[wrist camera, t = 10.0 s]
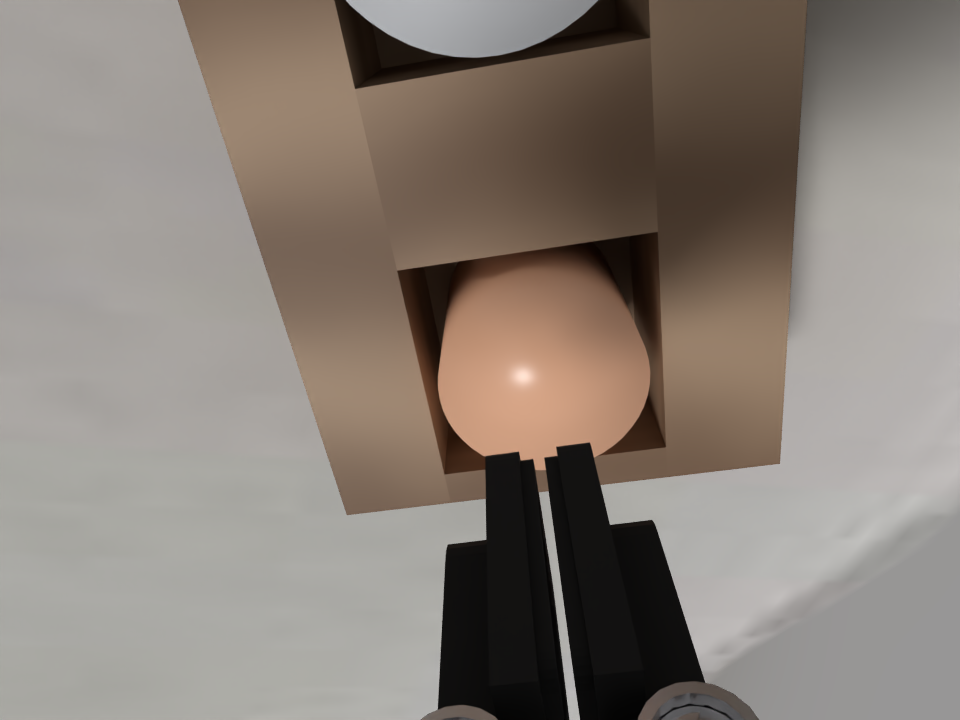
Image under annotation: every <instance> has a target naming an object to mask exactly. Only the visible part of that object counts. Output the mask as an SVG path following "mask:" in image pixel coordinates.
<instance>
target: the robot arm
mask: <svg viewBox="0 0 960 720" xmlns="http://www.w3.org/2000/svg"><path fill="white" fill-rule="evenodd" d="M556 450H557V456H552V457H544V460H545V467H546V475H547V482H548V489H549V497H550V504H551V511H552V519H553V526H554V533H555V541H556V548H557V556H558V563H559V570H560V578H561V585H562V592H563V600H564V607H565V614H566V622H567V629H568V636H569V644H570V651H571V658H572V666H573V673H574V680H575V687H576V694H577V701H578V708H579V715H580V720H759V719H758V718H757V716H756V715H755V713H754V712H753V711H752V709H751V708H750V707H749V706H748V705H747V704H746V703H744V702H743V701H742V700H741V699H739V698H738V697H737V696H736V695H734V694H733V693H731V692H729V691H727V690H724V689H722V688H720V687H718V686H716V685H713V684H707V683H705V681H704V678H703V674H702V671H701V668H700V665H699V662H698V659H697V655H696V652H695V649H694V646H693V643H692V640H691V636H690V633H689V630H688V627H687V624H686V621H685V617H684V614H683V611H682V608H681V605H680V602H679V598H678V595H677V592H676V589H675V586H674V583H673V579H672V576H671V573H670V570H669V567H668V564H667V560H666V557H665V554H664V551H663V548H662V545H661V541H660V538H659V535H658V532H657V529H656V526H655V524H654V522H653V521H652V520H648V521H640V522H632V523H623V524H615V525H610V524H609V520H608V515H607V511H606V507H605V503H604V498H603V494H602V490H601V486H600V481H599V477H598V473H597V469H596V464H595V460H594V456H593V452H592V447H591V444H590V442H589V443H581V444H573V445H566V446H558V447H556ZM485 479H486V536H487V540H482V541H474V542H466V543H458V544H449V545H448V546H447V550H446V561H445V581H444V601H443V620H442V640H441V659H440V679H439V698H438V710H436V711H434V712H432V713H429V714H427V715H426V716H425V717H424V718H422V719H421V720H569V713H568V705H567V697H566V688H565V680H564V672H563V664H562V656H561V647H560V639H559V631H558V623H557V615H556V606H555V598H554V591H553V583H552V576H551V570H550V563H549V557H548V550H547V544H546V537H545V531H544V524H543V518H542V511H541V505H540V498H539V492H538V485H537V478H536V472H535V466H534V460H533V459H529V460H521V459H520V454H519V452H512V453H504V454H496V455H489V456H486V457H485Z"/></svg>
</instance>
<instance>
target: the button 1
mask: <svg viewBox="0 0 960 720" xmlns="http://www.w3.org/2000/svg"><path fill="white" fill-rule="evenodd" d="M649 386H650V366H649V359H648V355H647V352H646V348H645V346H644V343H643V341H642V339H641V337H640V334H639V332H638V330H637V327H636V325H635V323H634V320H633V318H632V316H631V314H630V311H629V309H628V307H627V304H626V302H625V300H624V297H623V295H622V293H621V291H620V288H619V286H618V284H617V281H616V279H615V277H614V274H613V272H612V270H611V268H610V265H609V263H608V261H607V259H606V258H605V256H604V255H603V253H602V251H601V250H600V249H599V248H598V247H597V246H596V244H595V243H594V242H586V243H579V244H573V245H566V246H559V247H553V248H546V249H539V250H532V251H526V252H519V253H512V254H506V255H499V256H492V257H485V258H479V259H472V260H465V261H459V262H458V264H457V266H456V268H455V270H454V272H453V275H452V278H451V282H450V288H449V294H448V302H447V310H446V318H445V325H444V333H443V341H442V349H441V357H440V364H439V372H438V391H439V398H440V402H441V405H442V409H443V412H444V414H445V416H446V418H447V420H448V422H449V423H450V425H451V426H452V428H453V429H454V431H455V432H456V433H457V434H458V436H459V437H460V438H461V439H462V440H463V441H464V442H465V443H466V444H468V445H469V446H470V447H471V448H472V449H474V450H475V451H477V452H478V453H480V454H481V455H483V456H485V457H486V456H489V455H496V454H504V453H512V452H519V454H520V459H521V460H529V459H533V460H534V466H535V470H546V467H545V460H544V457H552V456H557V450H556V447H558V446H566V445H573V444H581V443H589V442H590V444H591V447H592V452H593V456H594V457H596V456H598V455H600V454H602V453H604V452H605V451H607V450H608V449H609V448H611V447H612V446H614V445H615V444H616V443H617V442H618V441H619V440H621V439H622V438H623V437H624V436H625V435H626V433H627V432H628V431H629V430H630V429H631V428H632V426H633V425H634V423H635V422H636V421H637V419H638V418H639V416H640V414H641V412H642V410H643V408H644V405H645V402H646V399H647V396H648V391H649Z"/></svg>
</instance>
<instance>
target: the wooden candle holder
mask: <svg viewBox="0 0 960 720" xmlns="http://www.w3.org/2000/svg"><path fill="white" fill-rule="evenodd" d="M178 2H179V5H180V8H181V11H182V14H183V17H184V20H185V23H186V27H187V30H188V33H189V36H190V39H191V42H192V45H193V48H194V51H195V54H196V57H197V60H198V63H199V66H200V69H201V72H202V75H203V78H204V81H205V84H206V87H207V90H208V93H209V97H210V100H211V103H212V106H213V109H214V112H215V115H216V118H217V121H218V124H219V127H220V130H221V133H222V136H223V139H224V142H225V145H226V148H227V151H228V154H229V157H230V160H231V163H232V167H233V170H234V173H235V176H236V179H237V182H238V185H239V188H240V191H241V194H242V197H243V200H244V203H245V206H246V209H247V212H248V215H249V218H250V221H251V224H252V227H253V230H254V233H255V237H256V240H257V243H258V246H259V249H260V252H261V255H262V258H263V261H264V264H265V267H266V270H267V273H268V276H269V279H270V282H271V285H272V288H273V291H274V294H275V297H276V300H277V304H278V307H279V310H280V313H281V316H282V319H283V322H284V325H285V328H286V331H287V334H288V337H289V340H290V343H291V346H292V349H293V352H294V355H295V358H296V361H297V364H298V367H299V370H300V374H301V377H302V380H303V383H304V386H305V389H306V392H307V395H308V398H309V401H310V404H311V407H312V410H313V413H314V416H315V419H316V422H317V425H318V428H319V431H320V434H321V437H322V440H323V444H324V447H325V450H326V453H327V456H328V459H329V462H330V465H331V468H332V471H333V474H334V477H335V480H336V483H337V486H338V489H339V492H340V495H341V498H342V501H343V504H344V507H345V510H346V514H347V515H351V514H360V513H368V512H377V511H385V510H394V509H402V508H410V507H419V506H427V505H436V504H444V503H453V502H461V501H469V500H478V499H486V479H485V456H483V455H481V454H480V453H478V452H477V451H475V450H474V449H472V448H471V447H470V446H469V445H468V444H466V443H465V442H464V441H463V440H462V439H461V438H460V437H459V436H458V434H457V433H456V432H455V431H454V429H453V428H452V426H451V425H450V423H449V422H448V420H447V418H446V416H445V414H444V412H443V409H442V405H441V402H440V398H439V391H438V372H439V364H440V357H441V349H442V341H443V333H444V325H445V318H446V310H447V302H448V294H449V288H450V282H451V278H452V275H453V272H454V270H455V268H456V266H457V264H458V262H459V261H465V260H472V259H479V258H485V257H492V256H499V255H506V254H512V253H519V252H526V251H532V250H539V249H546V248H553V247H559V246H566V245H573V244H579V243H586V242H594V243H595V244H596V246H597V247H598V248H599V249H600V250H601V251H602V253H603V255H604V256H605V258H606V259H607V261H608V263H609V265H610V268H611V270H612V272H613V274H614V277H615V279H616V281H617V284H618V286H619V288H620V291H621V293H622V295H623V297H624V300H625V302H626V304H627V307H628V309H629V311H630V314H631V316H632V318H633V320H634V323H635V325H636V327H637V330H638V332H639V334H640V337H641V339H642V341H643V343H644V346H645V348H646V352H647V355H648V359H649V366H650V386H649V391H648V396H647V399H646V402H645V405H644V408H643V410H642V412H641V414H640V416H639V418H638V419H637V421H636V422H635V423H634V425H633V426H632V428H631V429H630V430H629V431H628V432H627V433H626V435H625V436H624V437H623V438H622V439H621V440H619V441H618V442H617V443H616V444H615V445H614V446H612V447H611V448H609V449H608V450H607V451H605V452H604V453H602V454H600V455H598V456H596V457H594V460H595V464H596V469H597V473H598V477H599V481H600V485H604V484H613V483H621V482H629V481H638V480H646V479H655V478H663V477H672V476H680V475H688V474H697V473H705V472H714V471H722V470H730V469H739V468H747V467H756V466H764V465H773V464H780V453H781V437H782V420H783V403H784V386H785V369H786V352H787V336H788V319H789V302H790V285H791V268H792V251H793V235H794V218H795V201H796V184H797V167H798V151H799V134H800V117H801V100H802V83H803V66H804V50H805V33H806V16H807V0H598V1H597V2H596V3H595V4H594V5H593V6H592V7H591V8H590V9H589V10H588V11H587V12H586V13H585V14H584V15H582V16H581V17H580V18H578V19H577V20H576V21H574V22H573V23H572V24H570V25H569V26H568V27H566V28H565V29H564V30H562V31H560V32H558V33H557V34H555V35H553V36H551V37H550V38H548V39H546V40H544V41H542V42H540V43H537V44H535V45H532V46H530V47H527V48H525V49H522V50H519V51H515V52H511V53H507V54H503V55H498V56H488V57H479V58H473V57H453V56H448V55H442V54H437V53H432V52H429V51H426V50H423V49H420V48H417V47H414V46H411V45H409V44H407V43H404V42H402V41H400V40H398V39H396V38H394V37H392V36H390V35H388V34H387V33H385V32H384V31H382V30H381V29H379V28H378V27H377V26H375V25H374V24H372V23H371V22H369V21H368V20H367V19H366V18H364V17H363V16H362V15H361V14H360V13H359V12H357V11H356V10H355V9H354V8H353V7H352V6H351V5H349V3H348V2H347V1H346V0H178ZM535 472H536V478H537V485H538V492H545V491H549V489H548V482H547V475H546V470H535Z"/></svg>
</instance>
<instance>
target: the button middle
mask: <svg viewBox="0 0 960 720" xmlns="http://www.w3.org/2000/svg"><path fill="white" fill-rule="evenodd" d="M346 1H347V2H348V3H349V5H351V6H352V7H353V8H354V9H355V10H356V11H357V12H359V13H360V14H361V15H362V16H363V17H364V18H366V19H367V20H368V21H369V22H371V23H372V24H374V25H375V26H377V27H378V28H379V29H381V30H382V31H384V32H385V33H387V34H388V35H390V36H392V37H394V38H396V39H398V40H400V41H402V42H404V43H407V44H409V45H411V46H414V47H417V48H420V49H423V50H426V51H429V52H432V53H437V54H442V55H448V56H453V57H473V58H479V57H488V56H498V55H503V54H507V53H511V52H515V51H519V50H522V49H525V48H527V47H530V46H532V45H535V44H537V43H540V42H542V41H544V40H546V39H548V38H550V37H551V36H553V35H555V34H557V33H558V32H560V31H562V30H564V29H565V28H566V27H568V26H569V25H570V24H572V23H573V22H574V21H576V20H577V19H578V18H580V17H581V16H582V15H584V14H585V13H586V12H587V11H588V10H589V9H590V8H591V7H592V6H593V5H594V4H595V3H596V2H597V1H598V0H346Z"/></svg>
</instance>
